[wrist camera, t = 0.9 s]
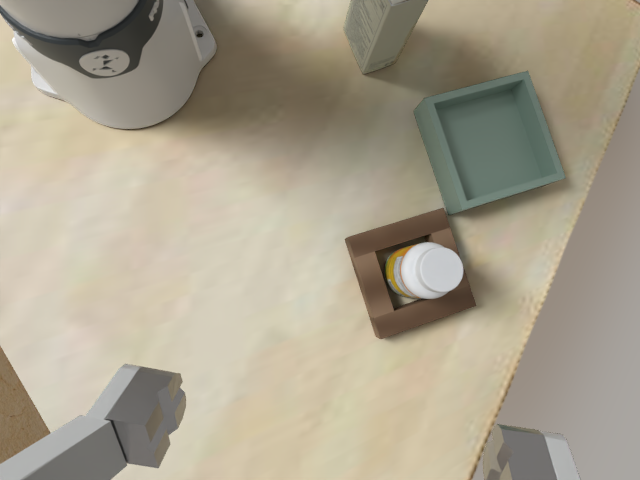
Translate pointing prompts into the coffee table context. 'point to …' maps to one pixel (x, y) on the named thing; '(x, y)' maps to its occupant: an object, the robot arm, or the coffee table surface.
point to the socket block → (374, 285)
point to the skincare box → (380, 30)
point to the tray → (488, 142)
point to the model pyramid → (16, 414)
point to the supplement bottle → (423, 271)
